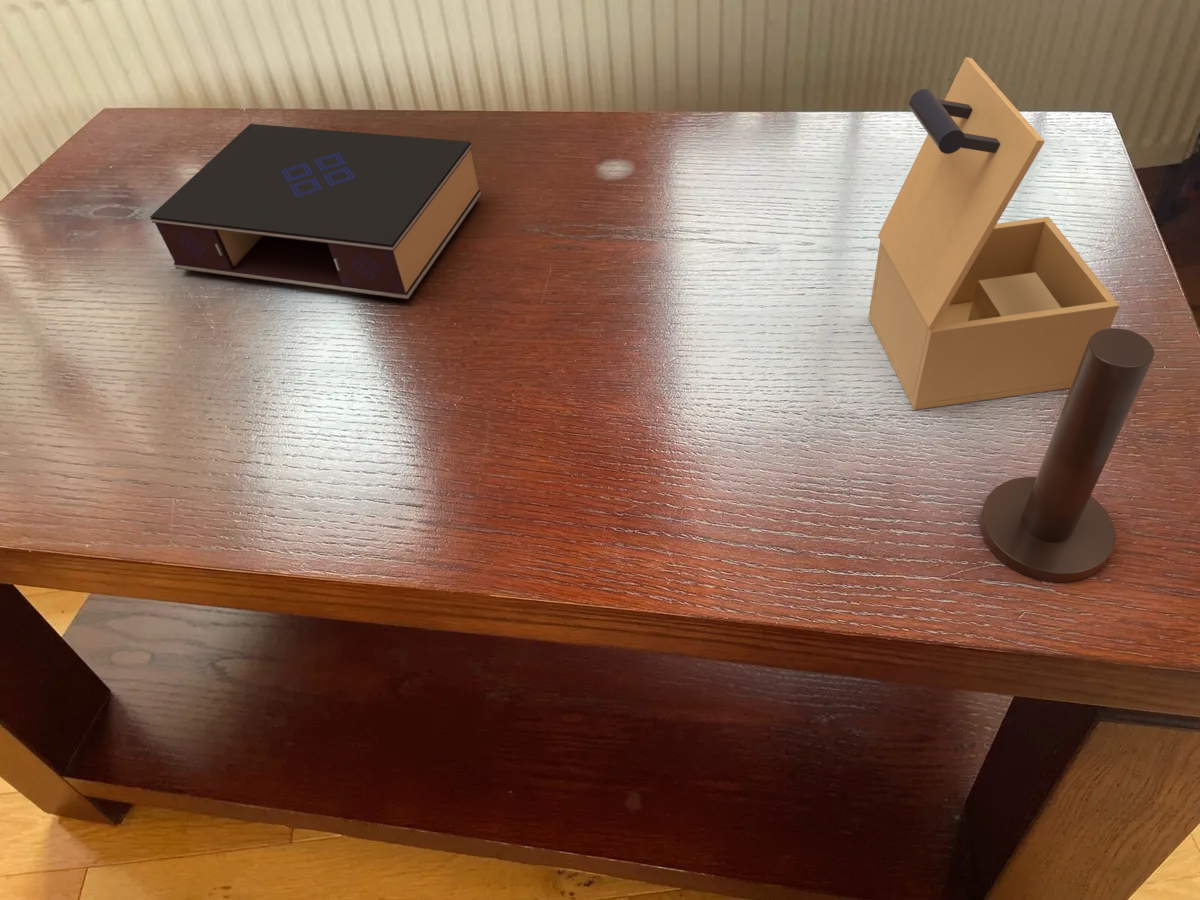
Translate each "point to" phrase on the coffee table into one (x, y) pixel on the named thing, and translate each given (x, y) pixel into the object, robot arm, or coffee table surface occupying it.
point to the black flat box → (322, 209)
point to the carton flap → (956, 186)
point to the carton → (994, 323)
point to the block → (1011, 297)
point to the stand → (1071, 471)
